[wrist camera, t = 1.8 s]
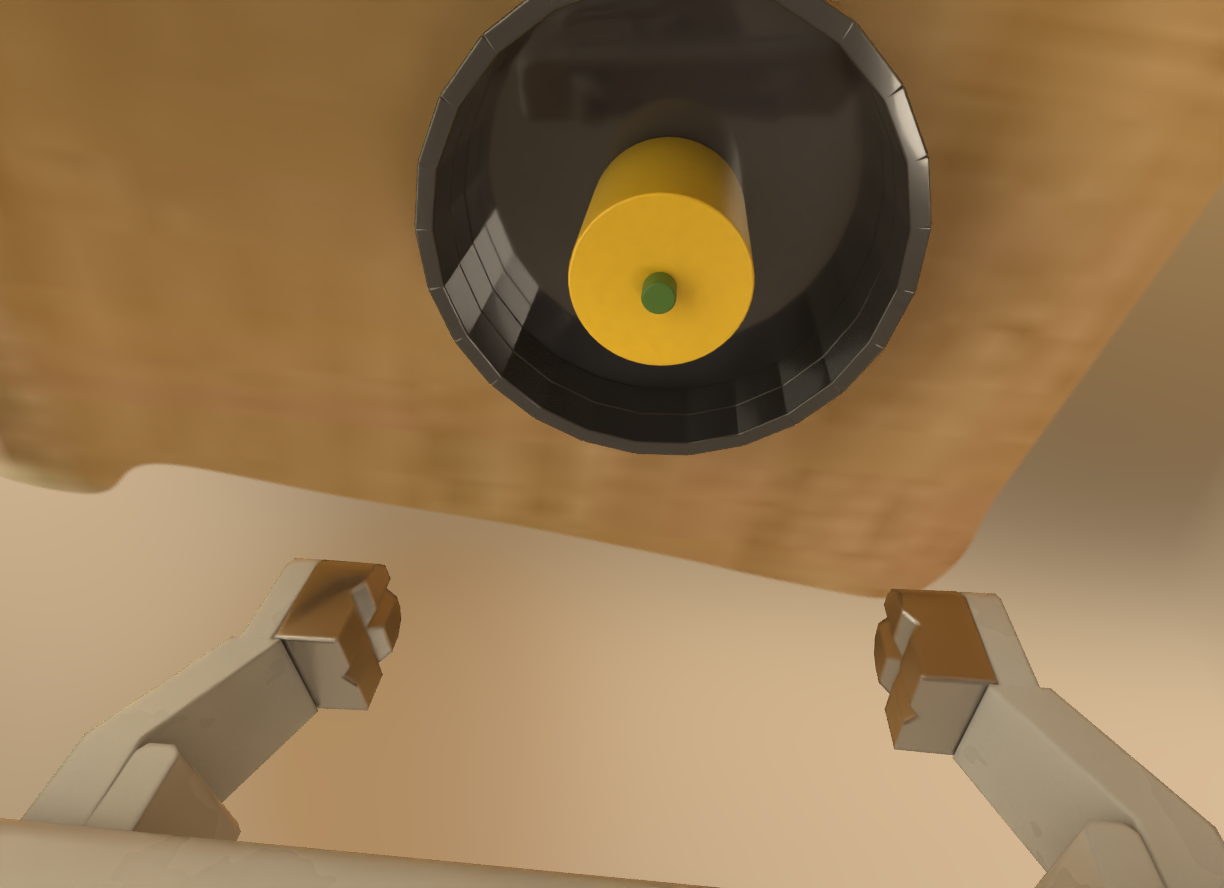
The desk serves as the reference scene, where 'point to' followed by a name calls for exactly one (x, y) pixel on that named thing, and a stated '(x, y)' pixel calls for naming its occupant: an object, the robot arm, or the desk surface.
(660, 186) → the yellow pepper
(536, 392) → the pan
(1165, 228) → the desk surface
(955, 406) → the desk surface
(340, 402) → the desk surface
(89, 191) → the desk surface
